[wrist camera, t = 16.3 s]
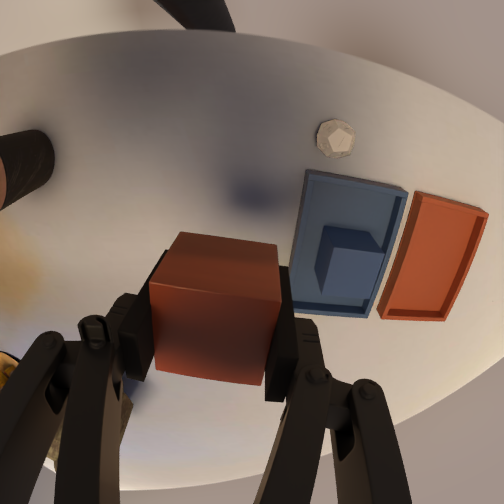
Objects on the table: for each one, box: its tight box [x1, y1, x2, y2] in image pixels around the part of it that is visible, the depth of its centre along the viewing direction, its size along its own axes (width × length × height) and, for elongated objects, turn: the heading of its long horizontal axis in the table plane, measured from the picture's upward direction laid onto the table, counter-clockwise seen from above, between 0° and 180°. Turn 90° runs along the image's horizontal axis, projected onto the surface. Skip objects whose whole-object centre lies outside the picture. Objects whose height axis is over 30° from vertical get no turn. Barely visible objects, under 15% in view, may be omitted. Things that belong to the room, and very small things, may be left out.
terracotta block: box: [149, 232, 282, 386], centre depth 14 cm, size 5×5×5 cm
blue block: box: [314, 226, 385, 299], centre depth 29 cm, size 5×5×5 cm
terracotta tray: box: [377, 191, 489, 321], centre depth 31 cm, size 15×10×2 cm
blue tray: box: [288, 169, 408, 318], centre depth 31 cm, size 15×10×2 cm
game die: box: [317, 119, 355, 158], centre depth 25 cm, size 4×4×3 cm
